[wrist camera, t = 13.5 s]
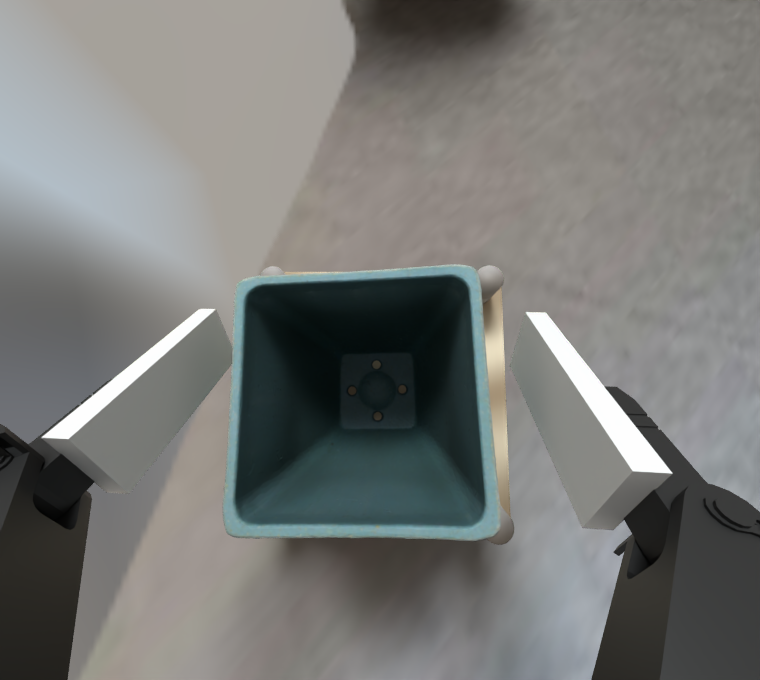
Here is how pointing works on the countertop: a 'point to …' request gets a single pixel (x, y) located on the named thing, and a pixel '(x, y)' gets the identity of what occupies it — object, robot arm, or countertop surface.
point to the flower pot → (361, 407)
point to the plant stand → (496, 374)
